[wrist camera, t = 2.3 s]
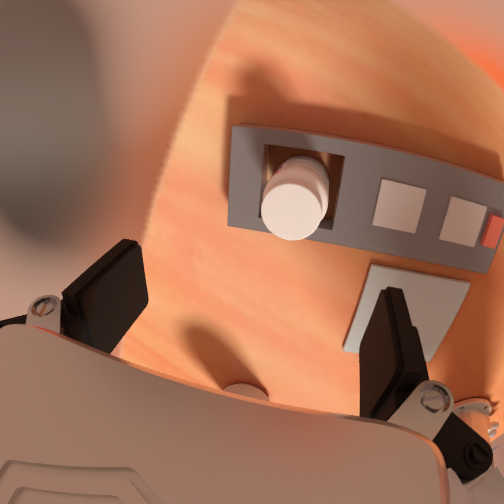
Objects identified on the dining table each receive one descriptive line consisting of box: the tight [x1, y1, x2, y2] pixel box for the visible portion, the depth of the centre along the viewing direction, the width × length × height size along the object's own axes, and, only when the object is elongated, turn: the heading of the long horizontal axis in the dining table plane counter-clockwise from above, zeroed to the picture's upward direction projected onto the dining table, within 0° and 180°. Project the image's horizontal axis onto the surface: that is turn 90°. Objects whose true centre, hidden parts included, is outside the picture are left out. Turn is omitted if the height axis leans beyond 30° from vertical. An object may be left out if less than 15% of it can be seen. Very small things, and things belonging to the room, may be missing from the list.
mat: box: [343, 263, 471, 362], centre depth 30 cm, size 12×12×1 cm
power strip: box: [227, 124, 504, 274], centre depth 24 cm, size 26×9×3 cm, turn 86°
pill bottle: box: [261, 155, 329, 240], centre depth 23 cm, size 5×5×8 cm
